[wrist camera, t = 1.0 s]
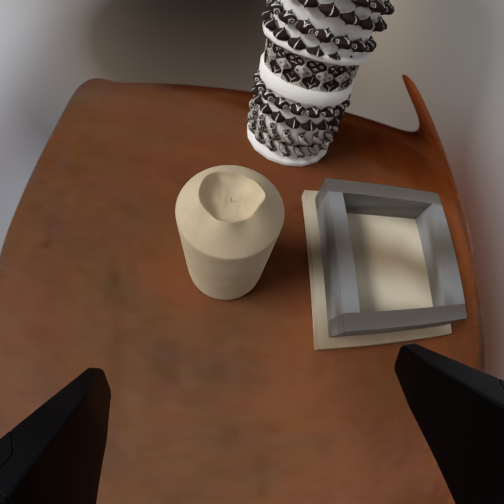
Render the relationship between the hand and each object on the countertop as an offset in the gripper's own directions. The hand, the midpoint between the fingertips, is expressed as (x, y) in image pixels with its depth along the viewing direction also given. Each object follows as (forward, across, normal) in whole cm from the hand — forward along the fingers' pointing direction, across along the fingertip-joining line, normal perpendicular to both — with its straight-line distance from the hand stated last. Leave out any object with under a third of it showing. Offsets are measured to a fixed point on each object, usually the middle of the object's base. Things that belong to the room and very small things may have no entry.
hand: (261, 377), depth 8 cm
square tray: (+15, -13, +3) cm, 20 cm away
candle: (+15, 0, +3) cm, 16 cm away
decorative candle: (+24, -7, -8) cm, 26 cm away
